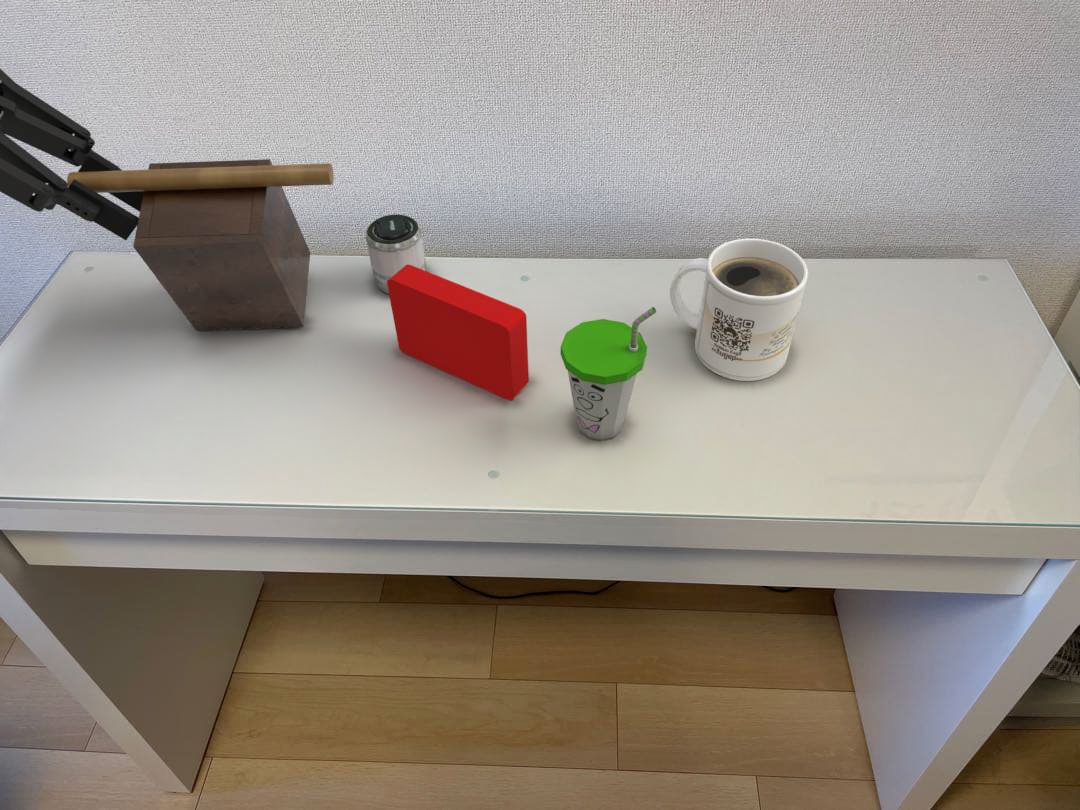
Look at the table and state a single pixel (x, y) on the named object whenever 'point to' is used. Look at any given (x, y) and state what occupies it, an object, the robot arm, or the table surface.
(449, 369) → the red rounded slab
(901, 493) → the table surface
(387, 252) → the camera lens
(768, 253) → the mug
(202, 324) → the divided box with dowel
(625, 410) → the cup
